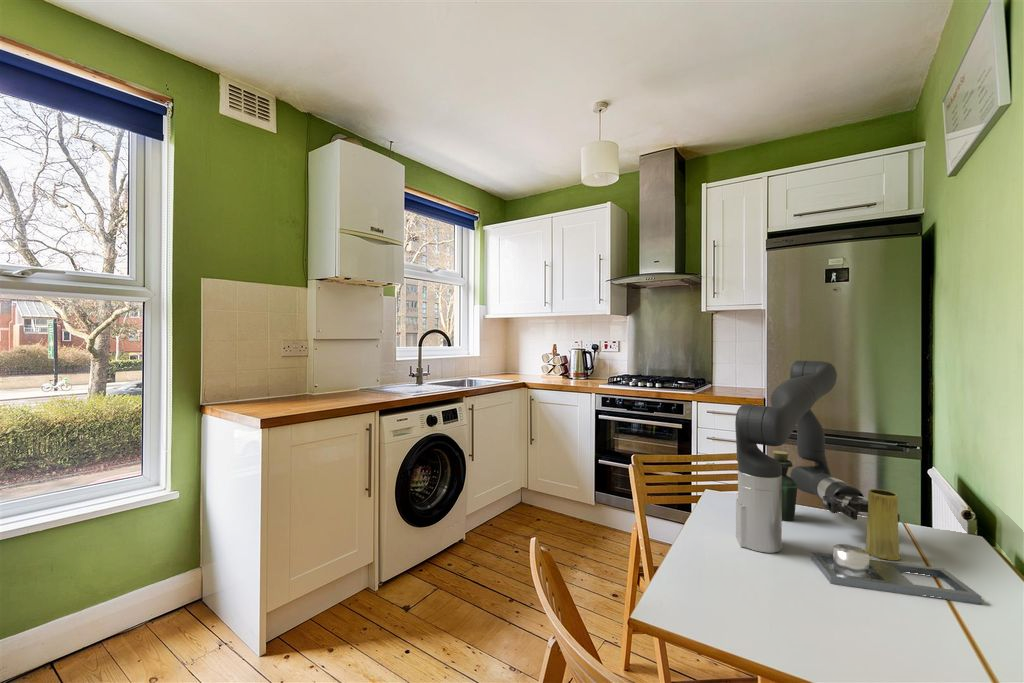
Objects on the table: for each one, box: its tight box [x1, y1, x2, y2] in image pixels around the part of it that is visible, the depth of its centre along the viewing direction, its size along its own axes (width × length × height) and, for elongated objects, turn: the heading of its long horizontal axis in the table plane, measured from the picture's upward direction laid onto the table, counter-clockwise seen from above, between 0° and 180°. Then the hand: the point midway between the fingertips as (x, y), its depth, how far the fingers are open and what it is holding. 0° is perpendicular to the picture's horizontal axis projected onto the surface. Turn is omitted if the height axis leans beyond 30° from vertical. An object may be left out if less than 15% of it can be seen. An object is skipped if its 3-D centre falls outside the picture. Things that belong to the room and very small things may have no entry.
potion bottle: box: [772, 450, 798, 522], centre depth 126 cm, size 8×8×18 cm
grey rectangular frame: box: [810, 543, 982, 605], centre depth 92 cm, size 24×11×5 cm, turn 73°
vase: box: [865, 488, 901, 561], centre depth 103 cm, size 6×6×14 cm
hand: (876, 517), depth 105 cm, fingers open, 8 cm apart
